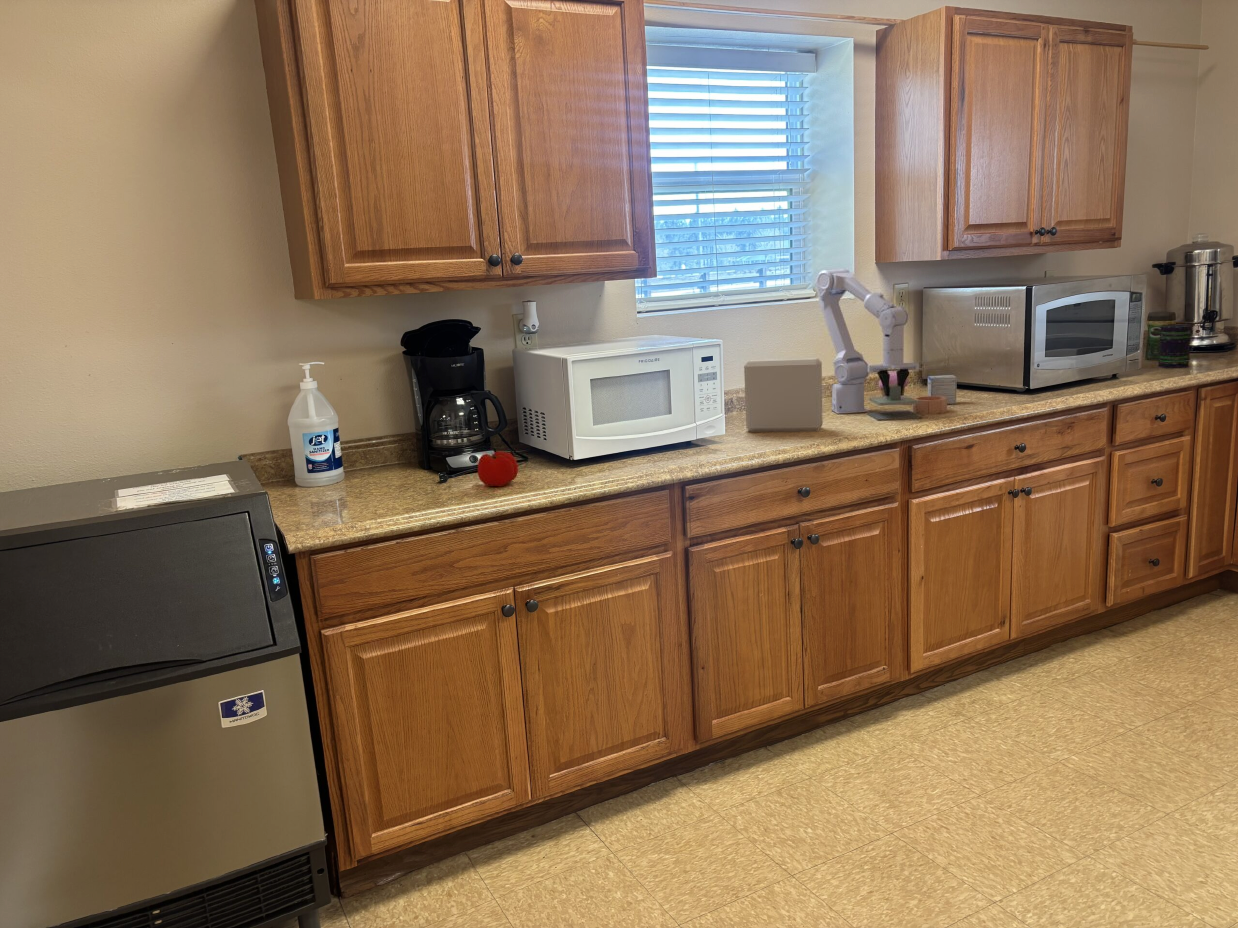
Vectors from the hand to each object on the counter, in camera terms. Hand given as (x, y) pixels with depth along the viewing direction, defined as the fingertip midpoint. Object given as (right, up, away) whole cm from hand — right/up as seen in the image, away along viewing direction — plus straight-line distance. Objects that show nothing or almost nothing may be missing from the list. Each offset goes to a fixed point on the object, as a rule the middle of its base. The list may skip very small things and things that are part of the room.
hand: (893, 395), depth 265 cm
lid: (0, -2, 0) cm, 2 cm away
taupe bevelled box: (-34, -11, -9) cm, 36 cm away
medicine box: (+21, -1, +17) cm, 27 cm away
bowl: (+12, -4, +5) cm, 14 cm away
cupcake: (+8, -1, +26) cm, 27 cm away
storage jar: (+122, +15, +64) cm, 138 cm away
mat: (0, -6, +1) cm, 6 cm away
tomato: (-109, -25, -54) cm, 124 cm away
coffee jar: (+130, +20, +86) cm, 157 cm away
